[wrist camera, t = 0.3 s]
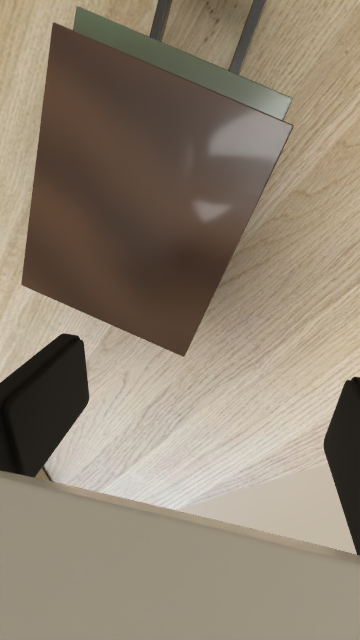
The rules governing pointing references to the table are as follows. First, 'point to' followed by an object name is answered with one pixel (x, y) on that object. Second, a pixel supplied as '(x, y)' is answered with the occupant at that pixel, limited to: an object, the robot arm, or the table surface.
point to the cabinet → (140, 189)
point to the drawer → (188, 56)
